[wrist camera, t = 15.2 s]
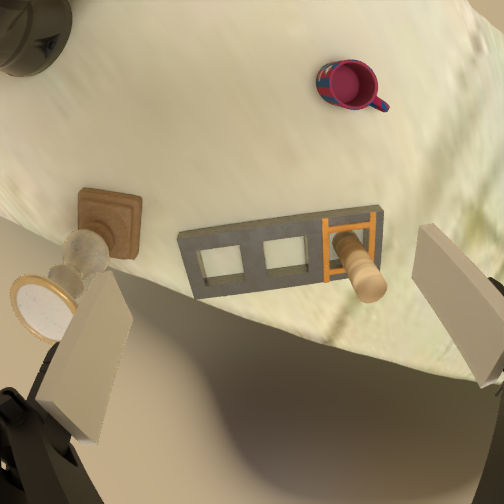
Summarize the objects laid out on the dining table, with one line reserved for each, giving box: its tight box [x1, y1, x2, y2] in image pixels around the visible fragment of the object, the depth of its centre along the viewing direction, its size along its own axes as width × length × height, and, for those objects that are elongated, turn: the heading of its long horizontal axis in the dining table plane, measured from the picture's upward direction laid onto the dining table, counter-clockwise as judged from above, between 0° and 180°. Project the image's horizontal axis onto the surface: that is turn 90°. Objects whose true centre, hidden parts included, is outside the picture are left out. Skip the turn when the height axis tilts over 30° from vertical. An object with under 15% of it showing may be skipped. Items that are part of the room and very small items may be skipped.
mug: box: [316, 60, 390, 112], centre depth 37 cm, size 7×10×7 cm
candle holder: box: [10, 188, 142, 345], centre depth 39 cm, size 11×11×24 cm
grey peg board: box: [177, 205, 384, 299], centre depth 52 cm, size 12×33×3 cm, turn 98°
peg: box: [332, 230, 387, 303], centre depth 47 cm, size 4×4×14 cm
